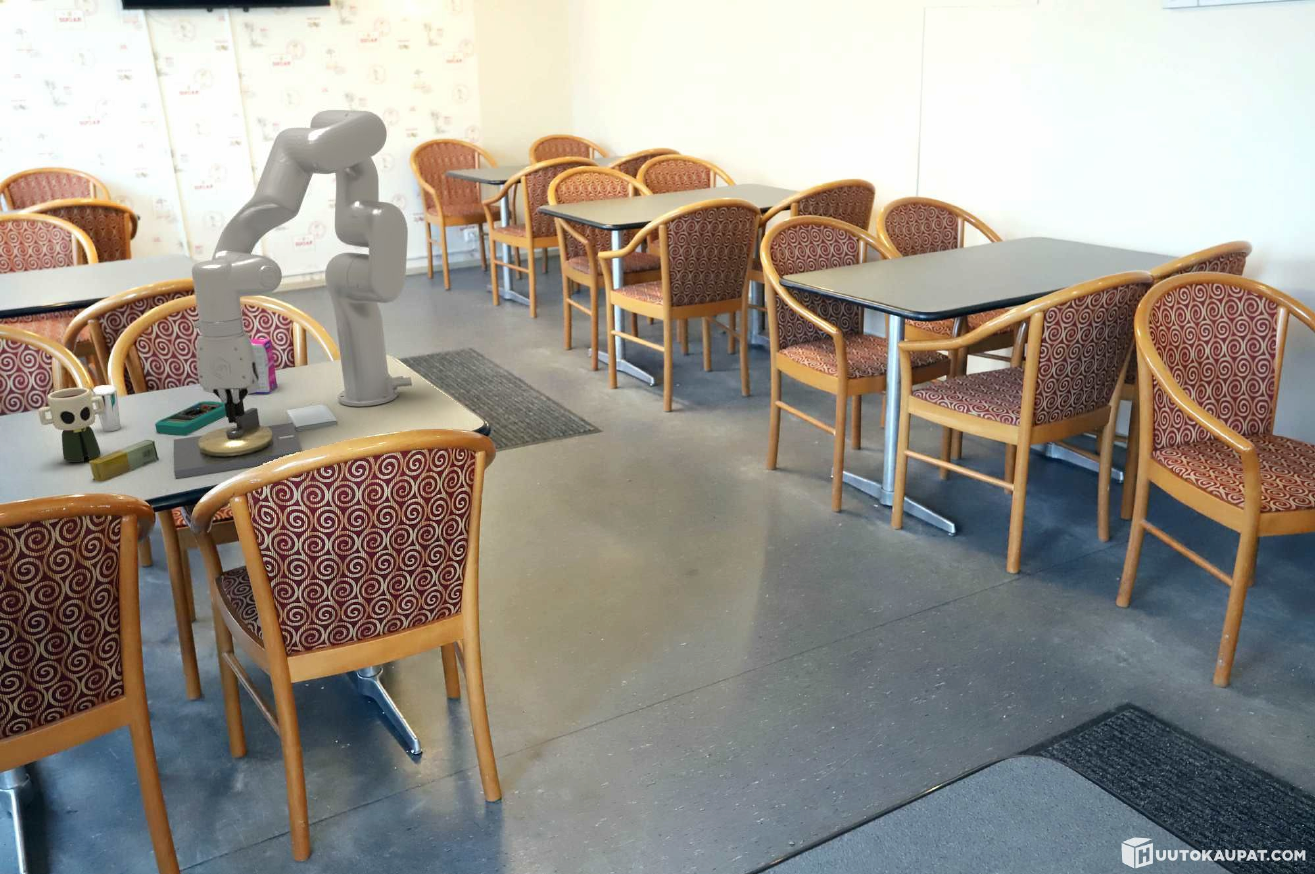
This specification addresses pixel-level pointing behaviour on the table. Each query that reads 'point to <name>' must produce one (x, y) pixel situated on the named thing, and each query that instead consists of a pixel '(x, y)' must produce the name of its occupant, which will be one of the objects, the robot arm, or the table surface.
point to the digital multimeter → (191, 418)
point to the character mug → (74, 421)
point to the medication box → (124, 460)
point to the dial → (237, 437)
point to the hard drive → (311, 417)
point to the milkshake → (108, 407)
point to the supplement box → (264, 365)
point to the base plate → (198, 463)
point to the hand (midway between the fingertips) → (236, 420)
